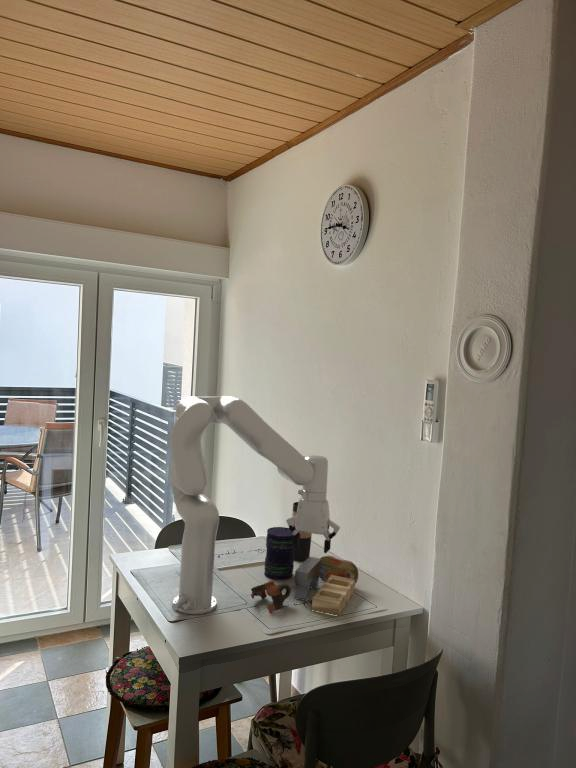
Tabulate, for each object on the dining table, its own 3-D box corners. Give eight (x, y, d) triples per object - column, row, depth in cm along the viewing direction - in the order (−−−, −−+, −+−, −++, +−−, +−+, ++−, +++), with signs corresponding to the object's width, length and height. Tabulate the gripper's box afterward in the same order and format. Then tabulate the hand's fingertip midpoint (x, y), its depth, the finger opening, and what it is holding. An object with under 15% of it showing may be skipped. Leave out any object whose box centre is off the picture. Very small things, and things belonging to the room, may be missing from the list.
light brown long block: (338, 617, 169) (339, 603, 169) (311, 611, 172) (312, 597, 171) (354, 592, 188) (355, 579, 187) (330, 587, 190) (331, 574, 190)
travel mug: (286, 559, 213) (290, 505, 211) (292, 553, 220) (296, 500, 219) (306, 563, 210) (310, 508, 209) (312, 556, 218) (316, 503, 217)
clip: (305, 602, 178) (307, 573, 177) (293, 599, 179) (295, 570, 178) (319, 585, 191) (321, 558, 190) (307, 583, 192) (309, 556, 192)
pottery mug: (261, 617, 167) (252, 588, 169) (253, 617, 175) (245, 590, 177) (299, 602, 171) (289, 574, 174) (289, 603, 180) (281, 576, 182)
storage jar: (282, 583, 191) (285, 538, 190) (257, 575, 196) (260, 531, 195) (298, 574, 199) (301, 531, 198) (275, 567, 204) (277, 525, 204)
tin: (315, 578, 197) (316, 553, 197) (320, 575, 200) (321, 551, 199) (354, 591, 188) (356, 565, 188) (358, 588, 191) (360, 563, 191)
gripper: (284, 494, 182) (281, 548, 184) (337, 502, 177) (334, 557, 178) (292, 489, 190) (289, 541, 191) (344, 496, 184) (341, 549, 185)
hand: (311, 549), depth 184 cm, fingers open, 9 cm apart
